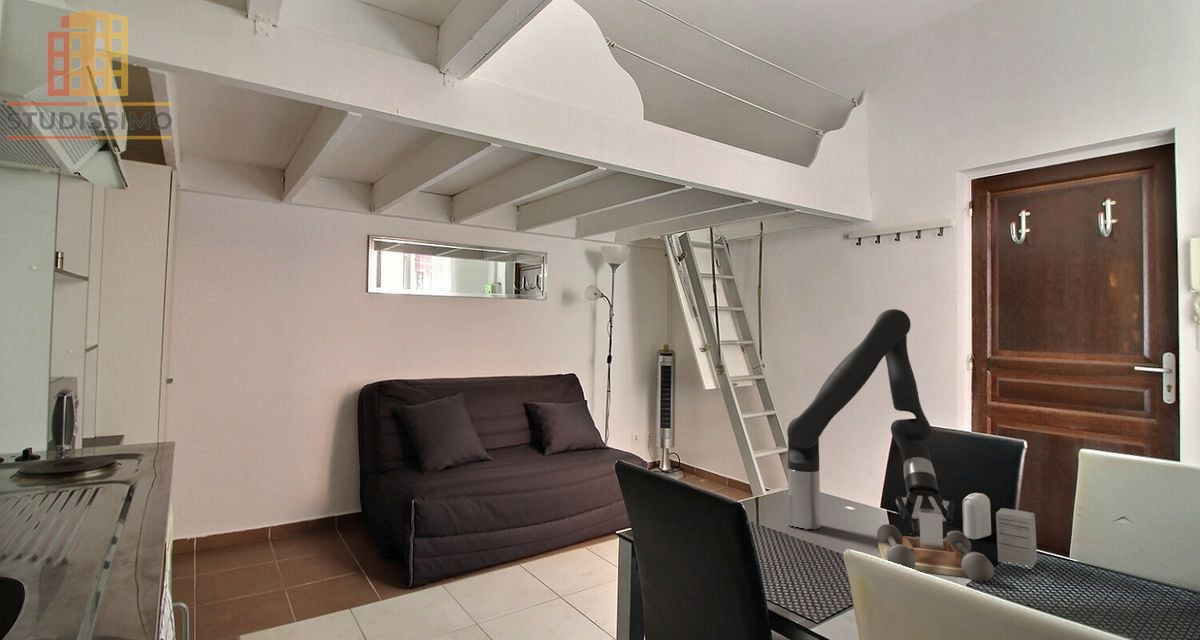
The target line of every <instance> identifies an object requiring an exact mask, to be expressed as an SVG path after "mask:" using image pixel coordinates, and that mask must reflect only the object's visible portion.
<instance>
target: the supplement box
mask: <svg viewBox="0 0 1200 640" xmlns="http://www.w3.org/2000/svg"><path fill="white" fill-rule="evenodd" d="M1035 516H1036V514H1035V513H1034V512H1030V511H1025V510H1017V509H1011V508H1005V507H1001V508H999V510H998V511H996V512H995V521H996V523H995V526H996V545H997V546H996V547H997V563H999V562H1011V563H1018V564H1023V565H1028V566H1034V564H1035V563H1036V561H1037V562H1038V553H1037V551H1038V550H1037V549H1038V547H1037V536H1036V535H1037V533H1036V531H1037V530H1036V517H1035Z"/></svg>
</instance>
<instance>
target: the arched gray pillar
mask: <svg viewBox="0 0 1200 640" xmlns="http://www.w3.org/2000/svg"><path fill="white" fill-rule="evenodd" d="M991 521H992V519H991V501H990V498H989V497H988V496H987V495H986V494H984V493H979V492H974V493H973V492H972V493H970V494H968V495H967V496H965V497H964V498H963V500H962V530H963V532H962V533H963V534H964V535H965V536H966V537H967V538H968V539H969V540H970V539H971V540H979V539H982V538H986V537H989V536H990V535H992V522H991Z"/></svg>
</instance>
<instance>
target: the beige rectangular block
mask: <svg viewBox="0 0 1200 640" xmlns="http://www.w3.org/2000/svg"><path fill="white" fill-rule="evenodd" d="M916 509H917V508H916ZM942 514H943V513H942ZM942 514H941V513H940V512H939V510H934V509H927V508H920V509H917V520H918V523H919V529H920V536H919V537H917V536H916V537H917V548H920V549H930V550H939V551H943V528H942Z"/></svg>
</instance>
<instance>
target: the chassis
mask: <svg viewBox="0 0 1200 640" xmlns="http://www.w3.org/2000/svg"><path fill="white" fill-rule="evenodd" d="M947 532H948V533H947V537H945V539H943V551H939V550H930V549H920V548H917V536H906V535H903V534H902V533H901V531H900V529H899V528H897V526H895V525H892V524H891V523H890V524H889V523H886V524H883V525H880V526H879V528H878V529H877V531H876V535H877V536H876V537H877V538H878V541H879V542H878V543H877V544H878V550H879V553H880V555H881V557H882V560H883V559H885V560H888V561H891V562H894V563H897V564H901V565H903V566H906V567H909V568H912V569H915V570H918V571H917V572H920V571H922V572H923V573H928V574H929V573H931V574H936V575H937V574H938V575H944V576H945V575H948V576H954V577H964V578H969V579H971V580H972V581H974V582H976V583H977V582H978V583H983V581H985V582H988V581H989V579H991V580H992V577H993V576H994V572H995V570H994V569H995V568H994V565H993V563H992V562H991V561H990V559H988V558H987V556H985V555H984V554H983V553H980V552H977V551H971V550H972V542H971V541H970V538H967V537H966V536H965V535H964V533H963V532H961V531H959V530H950V531H947ZM922 572H921V573H922Z"/></svg>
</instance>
